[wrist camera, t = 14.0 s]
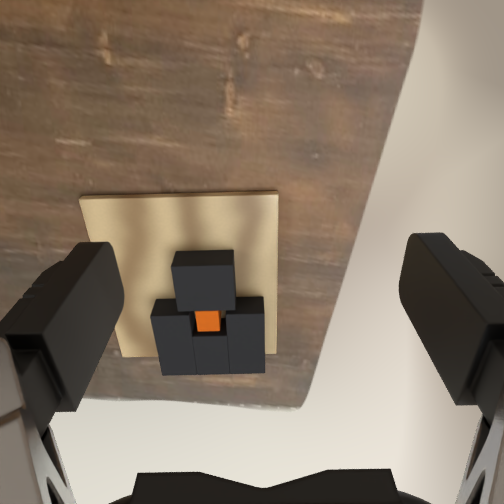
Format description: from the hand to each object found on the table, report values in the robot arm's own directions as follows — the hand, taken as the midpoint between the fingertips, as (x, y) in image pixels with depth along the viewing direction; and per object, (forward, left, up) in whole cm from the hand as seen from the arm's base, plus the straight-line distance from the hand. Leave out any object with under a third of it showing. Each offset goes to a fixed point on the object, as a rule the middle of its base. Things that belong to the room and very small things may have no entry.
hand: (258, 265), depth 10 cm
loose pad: (+5, +18, -25) cm, 31 cm away
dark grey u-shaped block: (+5, +24, -25) cm, 35 cm away
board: (+7, +18, -26) cm, 32 cm away
